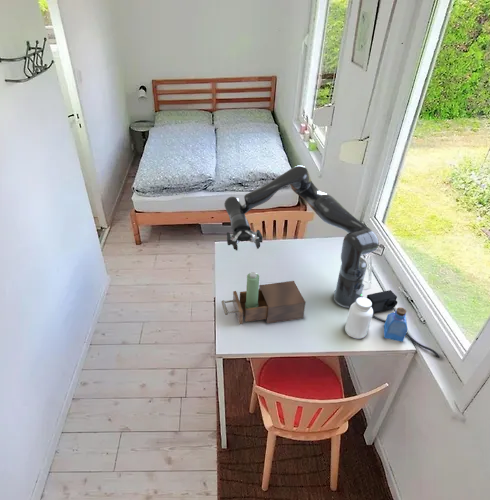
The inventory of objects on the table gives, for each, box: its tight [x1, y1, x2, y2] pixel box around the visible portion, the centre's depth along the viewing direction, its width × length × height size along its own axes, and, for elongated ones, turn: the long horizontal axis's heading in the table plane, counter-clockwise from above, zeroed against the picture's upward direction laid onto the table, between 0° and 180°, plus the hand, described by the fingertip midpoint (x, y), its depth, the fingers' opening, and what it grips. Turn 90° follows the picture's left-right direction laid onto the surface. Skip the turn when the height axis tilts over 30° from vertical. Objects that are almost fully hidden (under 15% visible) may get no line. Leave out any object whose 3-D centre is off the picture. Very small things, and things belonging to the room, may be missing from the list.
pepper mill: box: [245, 271, 260, 309], centre depth 147 cm, size 5×5×18 cm
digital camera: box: [366, 289, 398, 315], centre depth 150 cm, size 10×5×7 cm, turn 104°
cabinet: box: [259, 280, 306, 324], centre depth 152 cm, size 15×13×9 cm
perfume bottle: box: [383, 307, 408, 343], centre depth 138 cm, size 6×6×12 cm
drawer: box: [221, 289, 268, 325], centre depth 150 cm, size 19×12×7 cm, turn 99°
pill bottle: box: [344, 296, 374, 339], centre depth 139 cm, size 8×8×15 cm
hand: (247, 247), depth 149 cm, fingers open, 8 cm apart
